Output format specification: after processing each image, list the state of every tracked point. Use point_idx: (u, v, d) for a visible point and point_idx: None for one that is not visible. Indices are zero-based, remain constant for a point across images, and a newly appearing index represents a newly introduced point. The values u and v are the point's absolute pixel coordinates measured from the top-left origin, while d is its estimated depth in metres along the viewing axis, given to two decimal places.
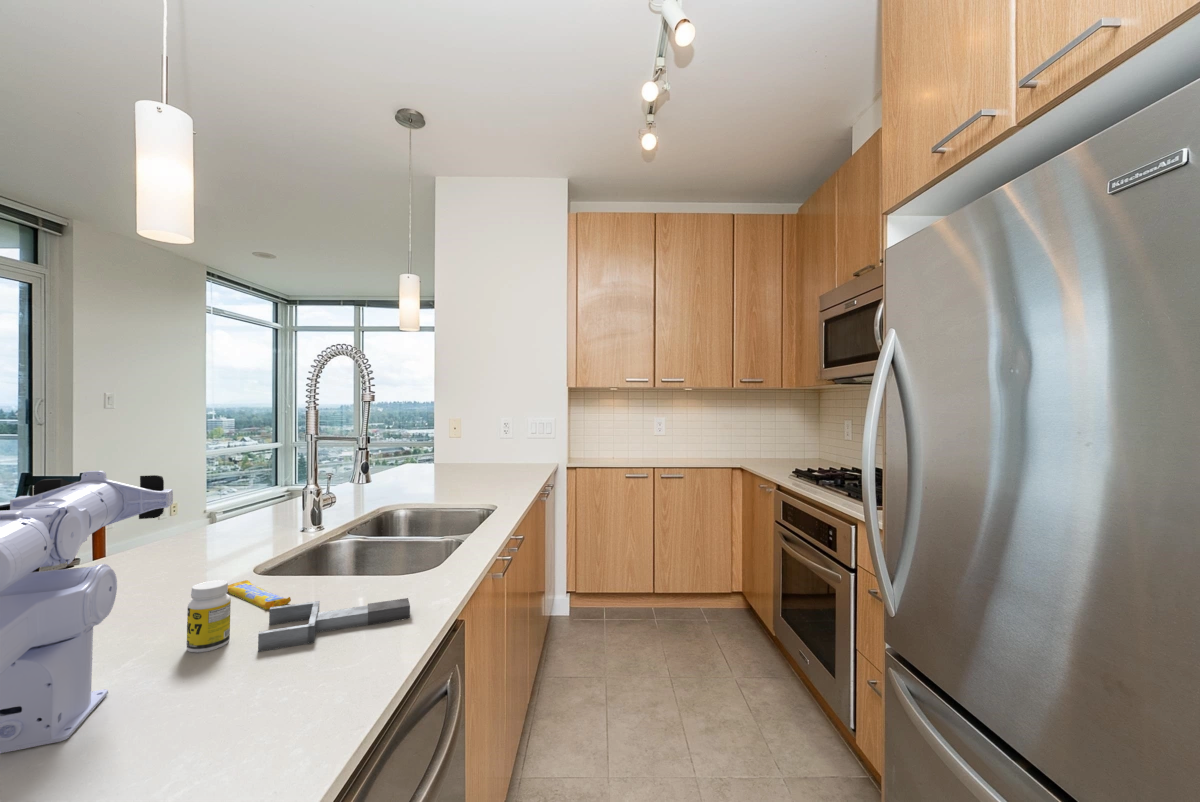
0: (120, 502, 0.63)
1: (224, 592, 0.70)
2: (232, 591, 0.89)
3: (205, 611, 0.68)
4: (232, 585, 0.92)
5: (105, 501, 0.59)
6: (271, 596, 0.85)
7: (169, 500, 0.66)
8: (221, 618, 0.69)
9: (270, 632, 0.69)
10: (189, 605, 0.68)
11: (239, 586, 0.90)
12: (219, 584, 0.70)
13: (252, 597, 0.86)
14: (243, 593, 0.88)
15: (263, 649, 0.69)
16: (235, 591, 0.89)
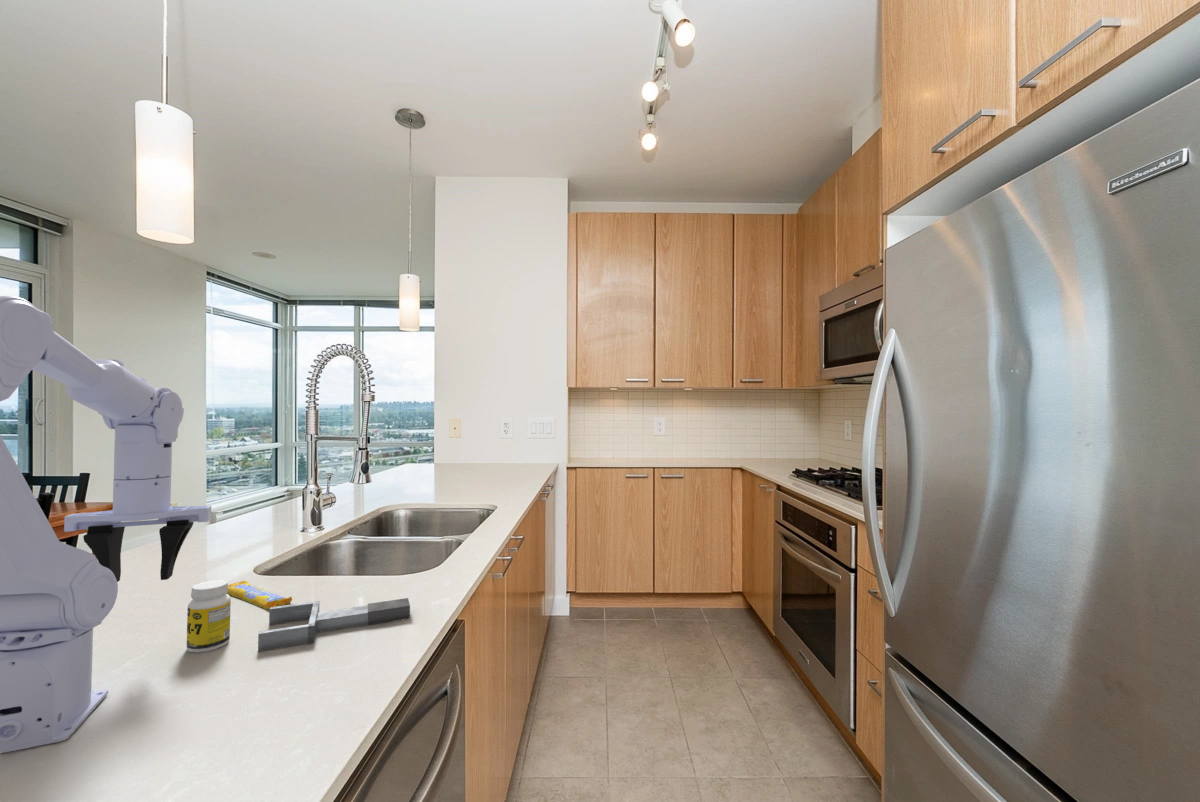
0: (169, 503, 0.69)
1: (224, 592, 0.70)
2: (231, 591, 0.89)
3: (205, 611, 0.68)
4: (230, 586, 0.92)
5: None
6: (272, 596, 0.85)
7: (209, 511, 0.70)
8: (221, 618, 0.69)
9: (270, 632, 0.69)
10: (189, 605, 0.68)
11: (238, 586, 0.90)
12: (219, 584, 0.70)
13: (252, 597, 0.86)
14: (242, 593, 0.88)
15: (263, 649, 0.69)
16: (234, 591, 0.89)
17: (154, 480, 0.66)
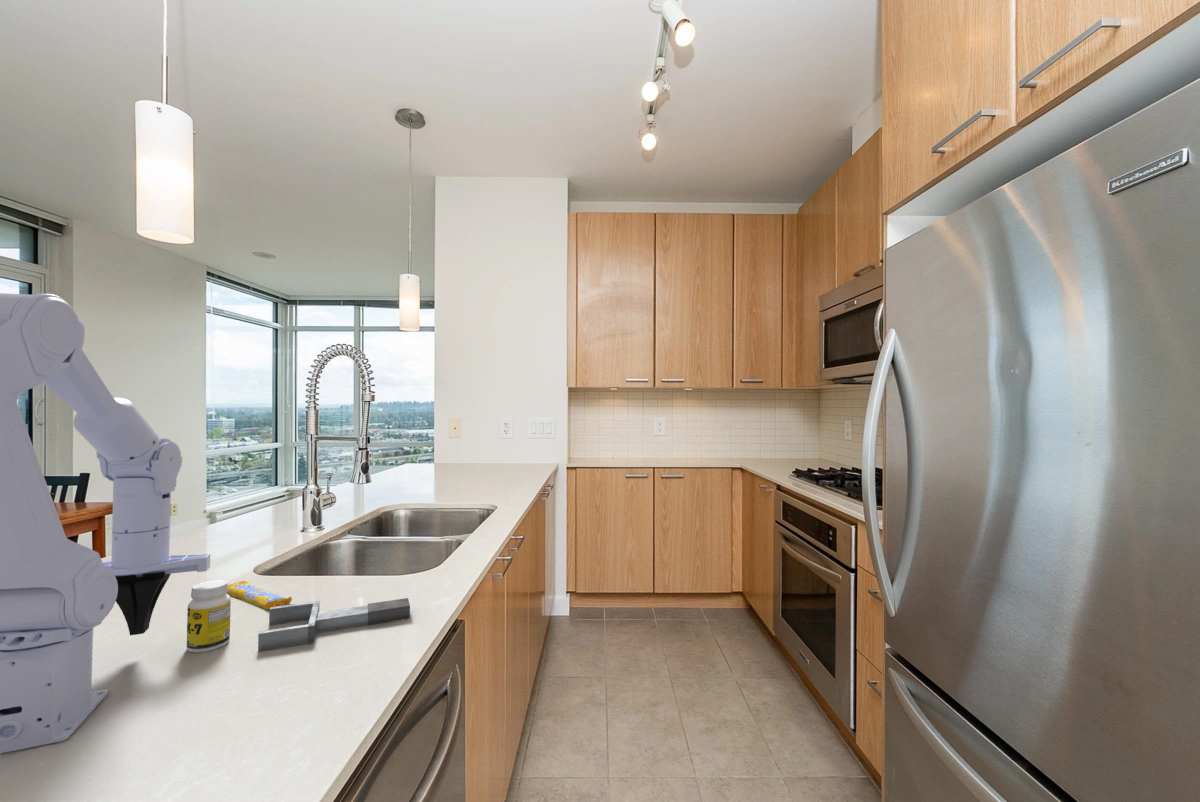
0: (168, 553, 0.69)
1: (224, 592, 0.70)
2: (231, 591, 0.89)
3: (205, 611, 0.68)
4: (230, 586, 0.91)
5: None
6: (272, 596, 0.85)
7: (208, 560, 0.70)
8: (221, 618, 0.69)
9: (270, 632, 0.69)
10: (189, 605, 0.68)
11: (238, 587, 0.90)
12: (219, 584, 0.70)
13: (251, 598, 0.86)
14: (242, 593, 0.87)
15: (263, 649, 0.69)
16: (234, 591, 0.89)
17: (153, 532, 0.66)
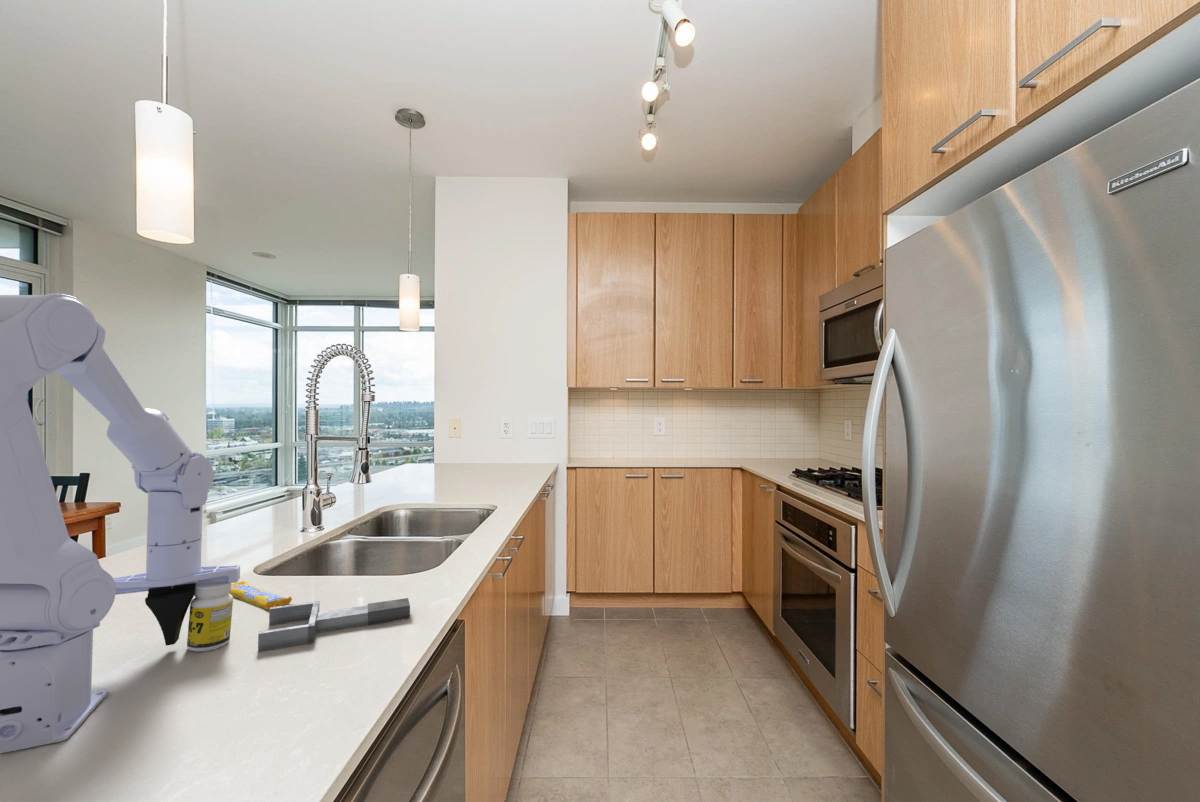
0: (200, 564, 0.70)
1: (227, 591, 0.70)
2: (230, 592, 0.89)
3: (207, 610, 0.68)
4: None
5: None
6: (271, 596, 0.85)
7: (238, 571, 0.72)
8: (223, 618, 0.70)
9: (270, 632, 0.69)
10: (192, 603, 0.68)
11: (237, 587, 0.89)
12: (222, 583, 0.70)
13: (251, 598, 0.86)
14: (241, 594, 0.87)
15: (263, 649, 0.69)
16: (233, 592, 0.89)
17: (186, 544, 0.68)
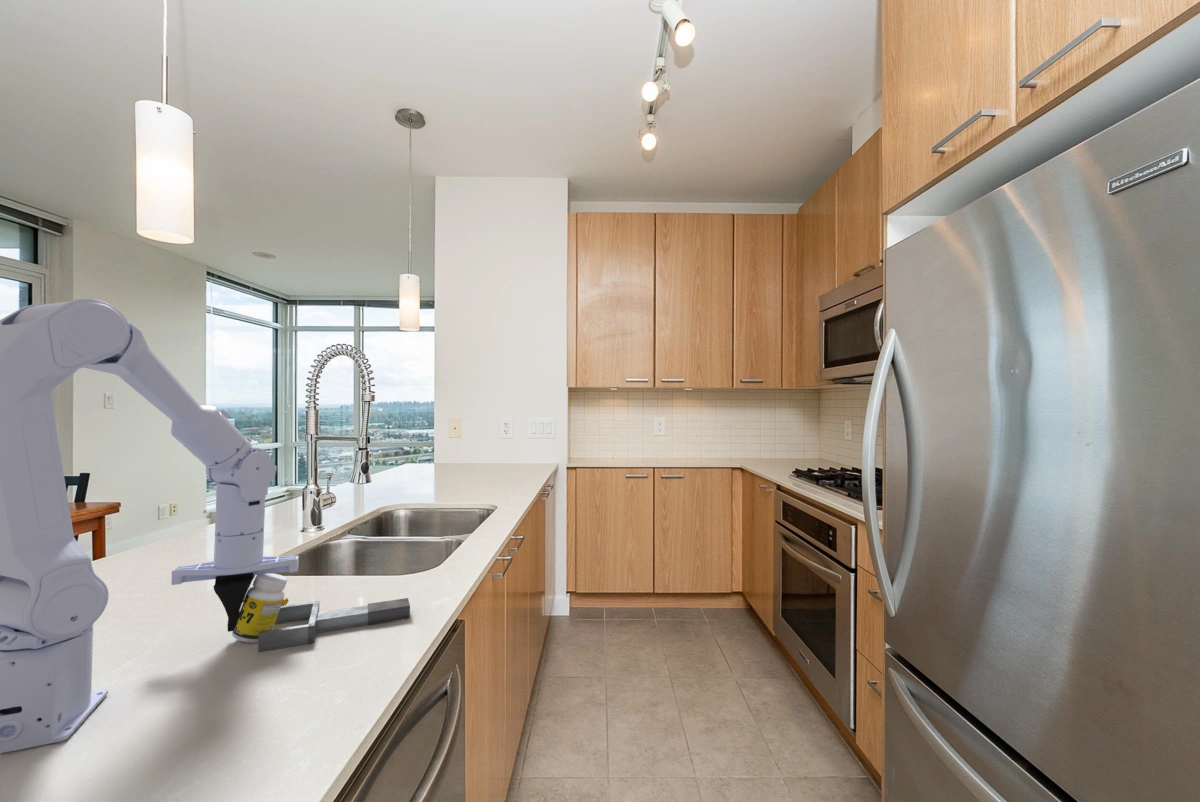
0: (262, 554, 0.73)
1: (282, 588, 0.73)
2: None
3: (261, 602, 0.71)
4: None
5: None
6: None
7: (297, 561, 0.75)
8: (272, 613, 0.72)
9: (270, 632, 0.69)
10: (249, 592, 0.71)
11: None
12: (280, 579, 0.73)
13: None
14: None
15: (263, 649, 0.69)
16: None
17: (252, 535, 0.71)
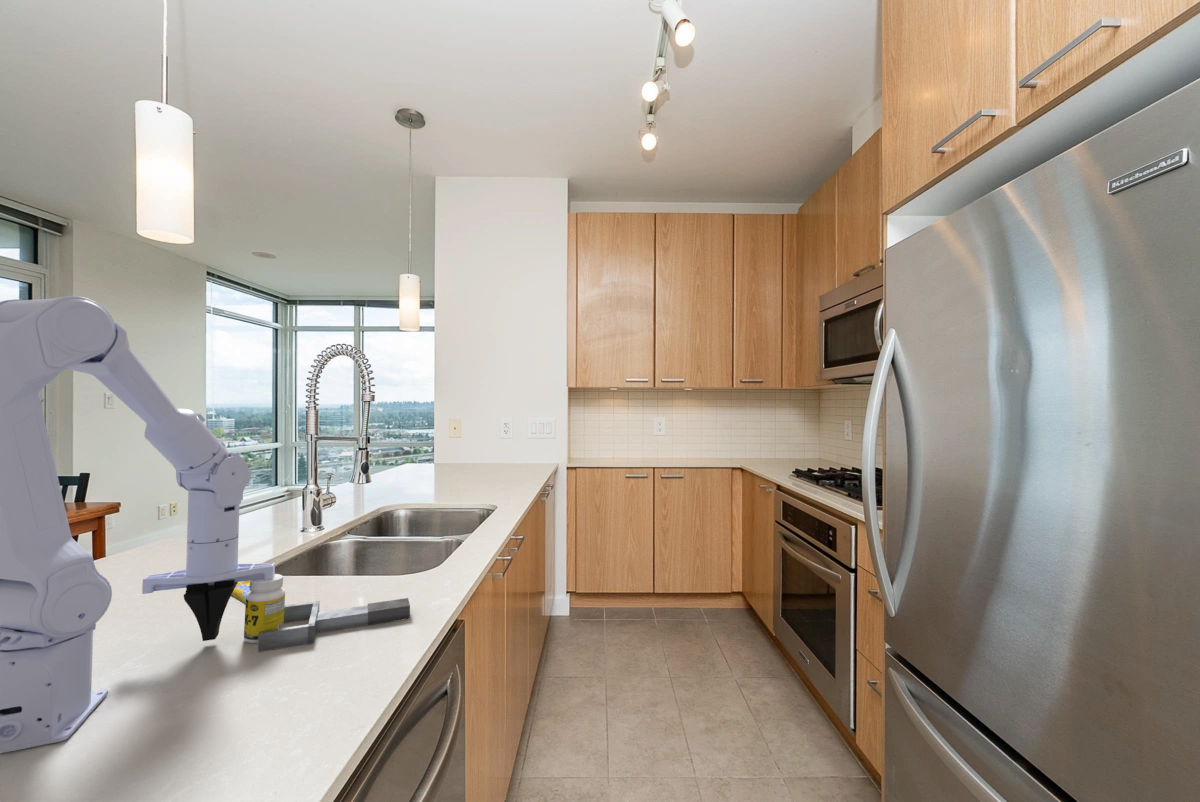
0: (237, 562, 0.72)
1: (279, 586, 0.73)
2: None
3: (262, 603, 0.71)
4: None
5: None
6: None
7: (273, 568, 0.73)
8: (276, 611, 0.72)
9: (270, 632, 0.69)
10: (247, 597, 0.71)
11: (238, 587, 0.90)
12: (275, 578, 0.73)
13: None
14: (240, 594, 0.87)
15: (263, 649, 0.69)
16: (234, 591, 0.89)
17: (225, 542, 0.69)
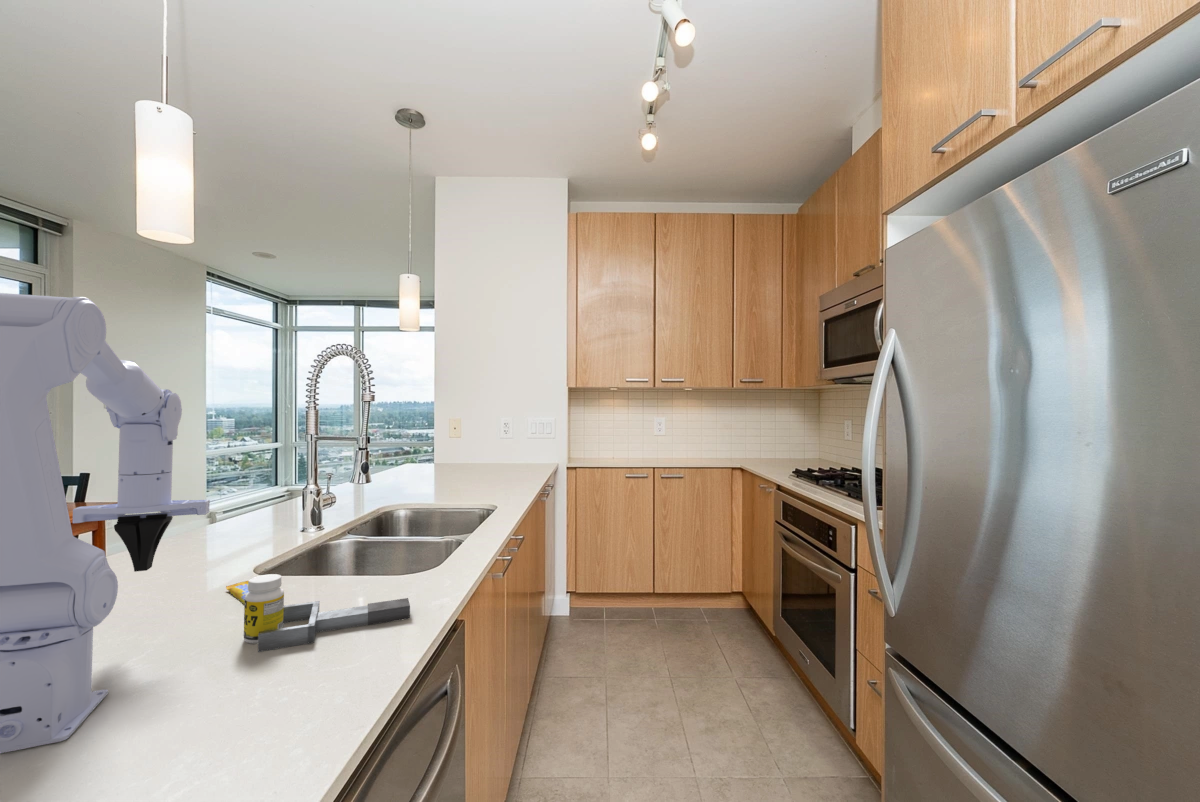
0: (170, 497, 0.73)
1: (278, 585, 0.73)
2: (233, 591, 0.89)
3: (260, 604, 0.71)
4: (235, 585, 0.92)
5: None
6: None
7: (207, 504, 0.75)
8: (275, 611, 0.72)
9: (270, 632, 0.69)
10: (246, 597, 0.71)
11: (239, 586, 0.90)
12: (273, 578, 0.73)
13: None
14: (240, 594, 0.87)
15: (263, 649, 0.69)
16: (234, 591, 0.89)
17: (156, 475, 0.71)
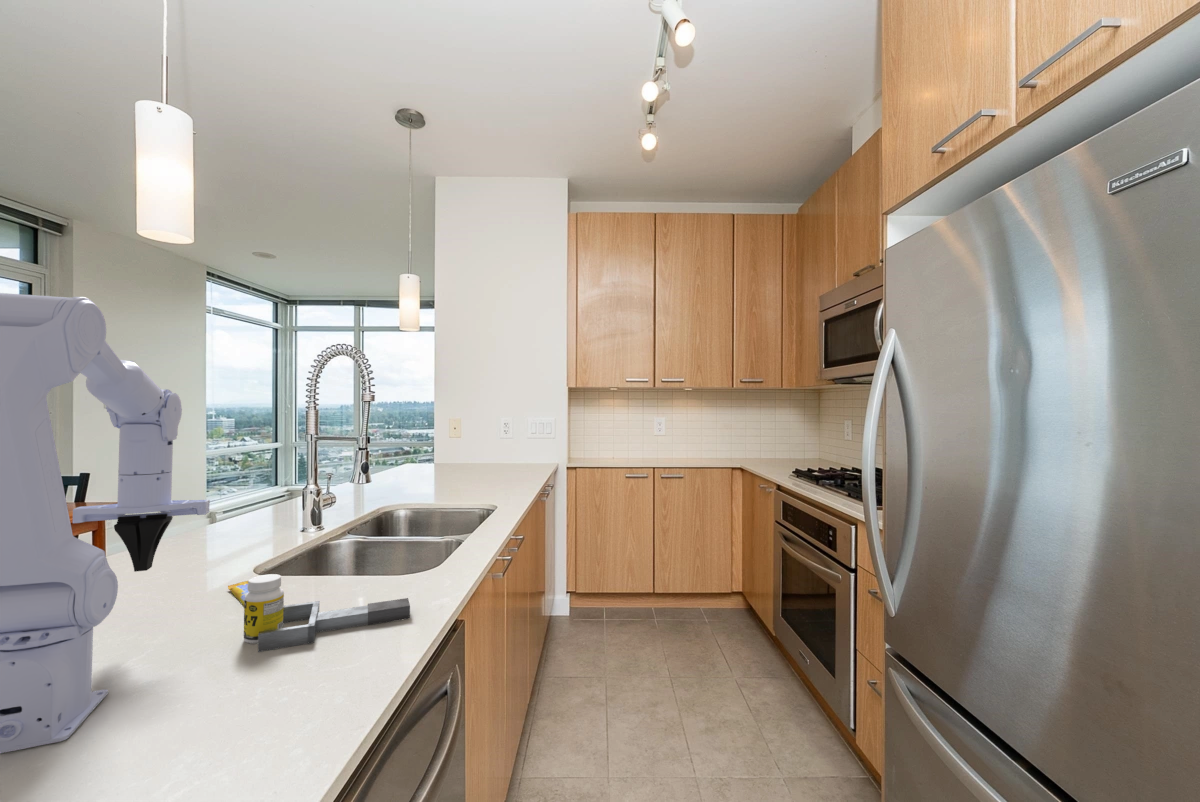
0: (170, 497, 0.73)
1: (277, 585, 0.73)
2: (233, 591, 0.89)
3: (260, 604, 0.71)
4: (237, 584, 0.92)
5: None
6: None
7: (207, 504, 0.75)
8: (275, 611, 0.72)
9: (270, 632, 0.69)
10: (246, 598, 0.71)
11: (240, 586, 0.90)
12: (273, 578, 0.73)
13: (244, 599, 0.85)
14: (239, 594, 0.87)
15: (263, 649, 0.69)
16: (235, 591, 0.89)
17: (156, 475, 0.71)
